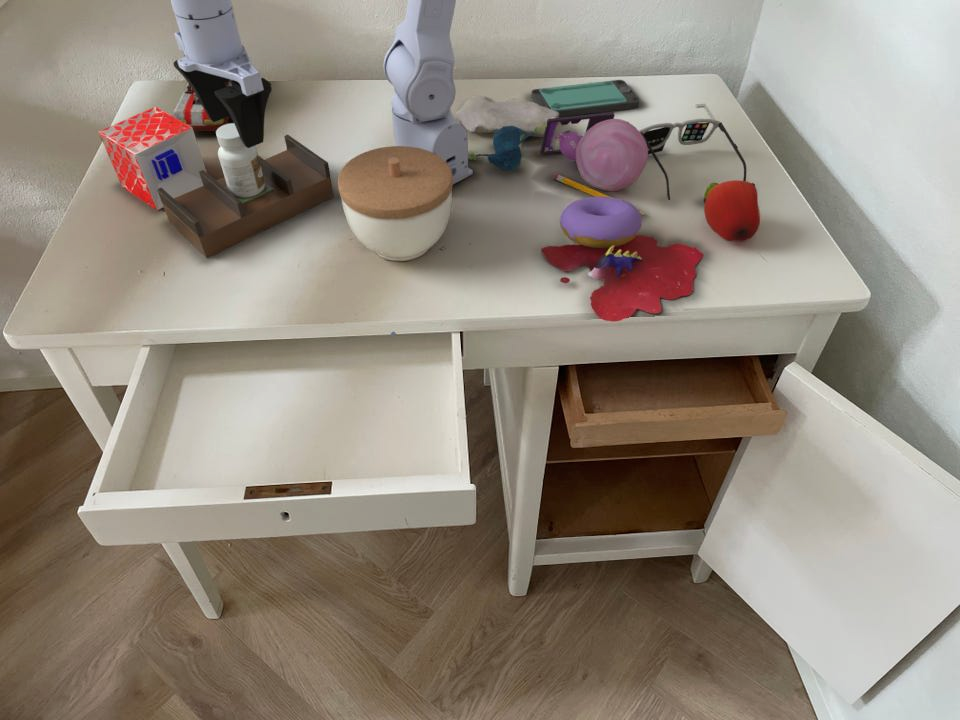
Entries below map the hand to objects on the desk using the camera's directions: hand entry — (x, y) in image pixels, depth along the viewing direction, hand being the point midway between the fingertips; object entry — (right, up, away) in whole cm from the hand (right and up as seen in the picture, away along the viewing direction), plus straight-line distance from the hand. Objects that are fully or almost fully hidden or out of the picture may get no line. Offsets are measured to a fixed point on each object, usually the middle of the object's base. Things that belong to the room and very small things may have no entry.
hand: (236, 130), depth 82 cm
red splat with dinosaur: (+45, -17, 0) cm, 48 cm away
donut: (+43, -12, +2) cm, 45 cm away
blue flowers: (+32, +5, +16) cm, 36 cm away
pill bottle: (0, -6, +5) cm, 7 cm away
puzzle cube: (-13, -4, +11) cm, 17 cm away
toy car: (-11, +11, +24) cm, 29 cm away
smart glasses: (+55, -1, +14) cm, 57 cm away
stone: (+25, +10, +22) cm, 34 cm away
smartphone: (+44, +13, +26) cm, 52 cm away
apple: (+58, -12, 0) cm, 59 cm away
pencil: (+43, -6, +9) cm, 45 cm away
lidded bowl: (+19, -12, +3) cm, 23 cm away
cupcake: (+47, +2, +13) cm, 48 cm away
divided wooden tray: (0, -8, +7) cm, 10 cm away
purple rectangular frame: (+41, +1, +15) cm, 44 cm away
